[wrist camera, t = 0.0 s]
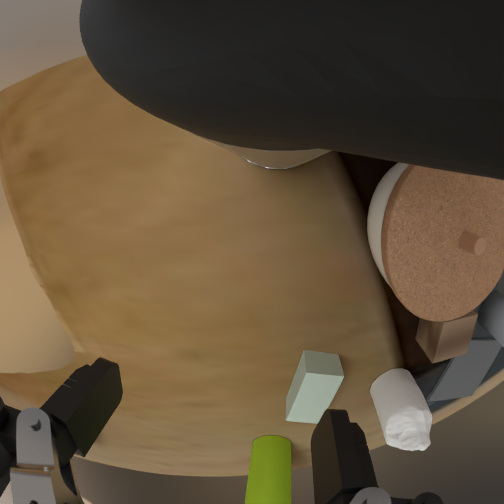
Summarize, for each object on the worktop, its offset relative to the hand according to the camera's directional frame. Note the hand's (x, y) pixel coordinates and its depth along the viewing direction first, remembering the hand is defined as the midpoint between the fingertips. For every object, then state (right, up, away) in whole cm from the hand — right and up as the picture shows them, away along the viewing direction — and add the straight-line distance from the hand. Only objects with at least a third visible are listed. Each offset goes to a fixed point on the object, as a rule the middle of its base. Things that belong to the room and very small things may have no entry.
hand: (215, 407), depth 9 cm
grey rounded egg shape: (+33, -2, +15) cm, 36 cm away
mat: (+33, -12, +18) cm, 39 cm away
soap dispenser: (+5, -24, +25) cm, 35 cm away
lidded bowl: (+16, +9, +14) cm, 23 cm away
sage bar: (+8, -9, +20) cm, 23 cm away
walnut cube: (+23, -2, +16) cm, 28 cm away
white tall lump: (+19, -11, +20) cm, 29 cm away
